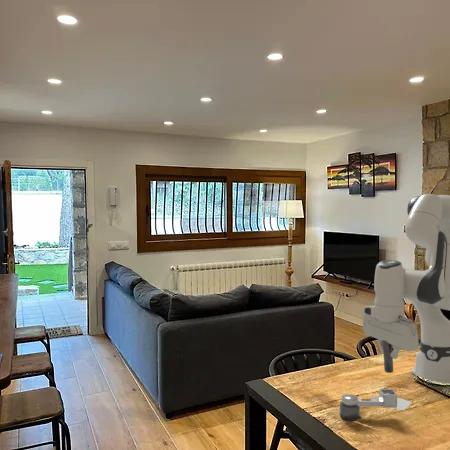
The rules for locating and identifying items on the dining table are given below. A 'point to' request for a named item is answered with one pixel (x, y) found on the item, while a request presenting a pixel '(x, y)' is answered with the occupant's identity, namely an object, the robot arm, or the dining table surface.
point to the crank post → (349, 412)
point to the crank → (372, 399)
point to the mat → (402, 404)
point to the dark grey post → (387, 357)
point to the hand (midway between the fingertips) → (389, 356)
